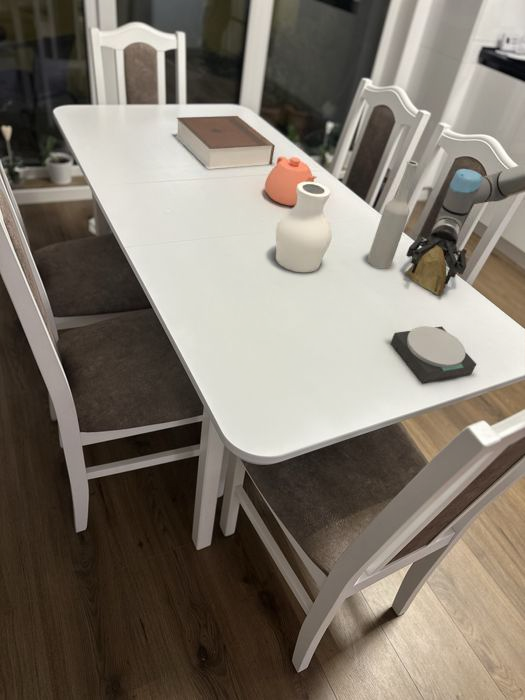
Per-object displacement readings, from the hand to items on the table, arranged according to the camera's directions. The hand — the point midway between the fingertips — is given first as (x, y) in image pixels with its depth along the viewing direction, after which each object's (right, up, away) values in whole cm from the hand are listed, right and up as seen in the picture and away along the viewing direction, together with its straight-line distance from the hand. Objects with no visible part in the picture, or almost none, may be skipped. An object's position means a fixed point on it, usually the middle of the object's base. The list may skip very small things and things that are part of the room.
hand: (431, 274), depth 135 cm
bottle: (-10, +5, +13) cm, 17 cm away
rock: (+1, -2, +8) cm, 8 cm away
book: (-56, +52, +56) cm, 95 cm away
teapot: (-34, +28, +35) cm, 56 cm away
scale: (-5, -21, -16) cm, 27 cm away
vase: (-33, +5, +7) cm, 34 cm away
